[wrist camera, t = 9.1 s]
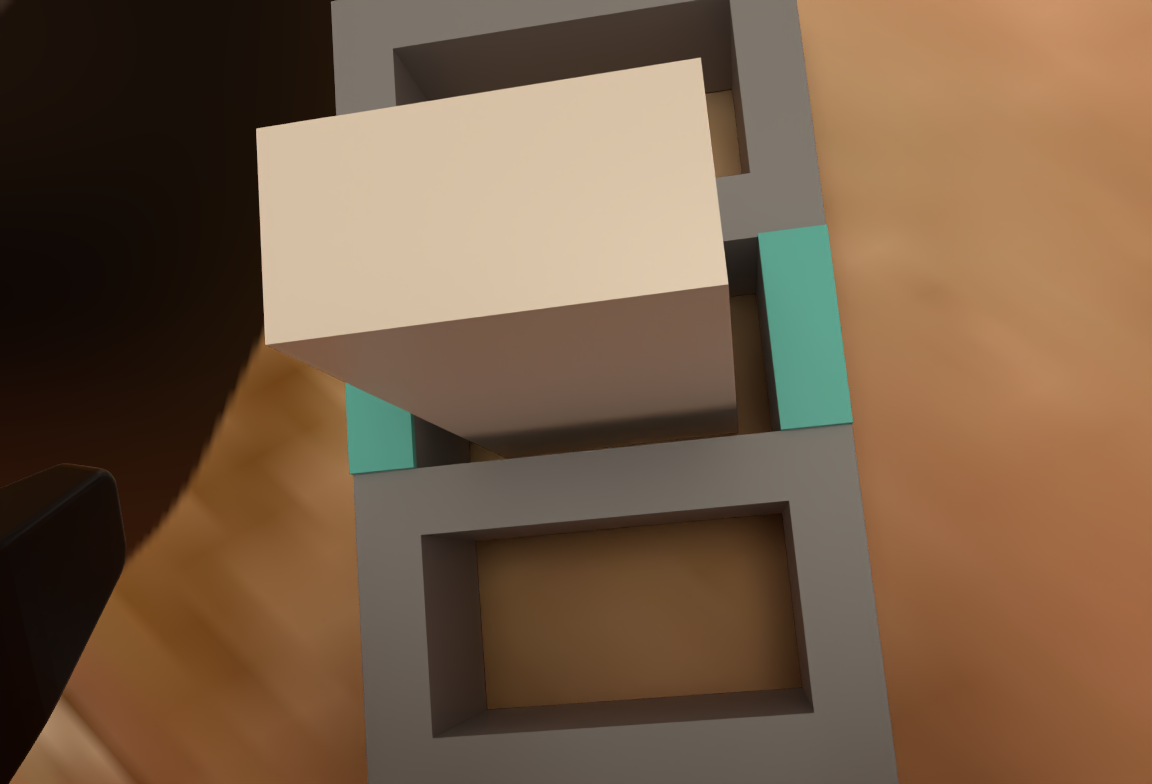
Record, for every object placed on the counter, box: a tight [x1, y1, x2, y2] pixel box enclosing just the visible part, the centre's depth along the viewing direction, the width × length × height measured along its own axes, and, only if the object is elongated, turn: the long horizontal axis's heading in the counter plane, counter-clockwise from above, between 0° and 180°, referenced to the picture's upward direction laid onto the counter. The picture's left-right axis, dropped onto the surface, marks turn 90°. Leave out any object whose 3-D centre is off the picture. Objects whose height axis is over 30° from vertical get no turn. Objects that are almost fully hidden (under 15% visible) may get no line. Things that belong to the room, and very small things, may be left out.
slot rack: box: [331, 0, 899, 784], centre depth 21 cm, size 15×9×4 cm, turn 5°
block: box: [256, 58, 738, 458], centre depth 17 cm, size 2×5×12 cm, turn 95°
